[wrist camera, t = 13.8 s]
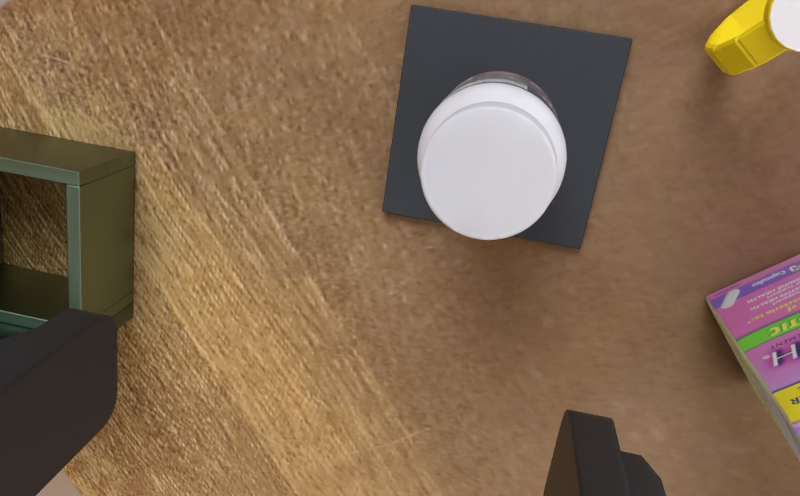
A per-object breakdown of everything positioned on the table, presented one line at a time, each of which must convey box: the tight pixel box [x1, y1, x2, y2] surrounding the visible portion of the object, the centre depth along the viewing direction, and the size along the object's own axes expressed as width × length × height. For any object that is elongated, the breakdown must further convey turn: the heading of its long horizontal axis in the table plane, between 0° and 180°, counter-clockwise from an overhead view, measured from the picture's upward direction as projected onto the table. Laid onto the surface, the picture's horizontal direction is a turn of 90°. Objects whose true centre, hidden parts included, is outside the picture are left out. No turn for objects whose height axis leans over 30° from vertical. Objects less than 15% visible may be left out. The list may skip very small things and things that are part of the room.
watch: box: [705, 0, 800, 75], centre depth 27 cm, size 6×3×6 cm, turn 134°
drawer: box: [0, 127, 135, 340], centre depth 35 cm, size 10×9×9 cm
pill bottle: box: [417, 71, 567, 240], centre depth 28 cm, size 6×6×10 cm
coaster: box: [382, 5, 632, 249], centre depth 33 cm, size 10×10×1 cm
